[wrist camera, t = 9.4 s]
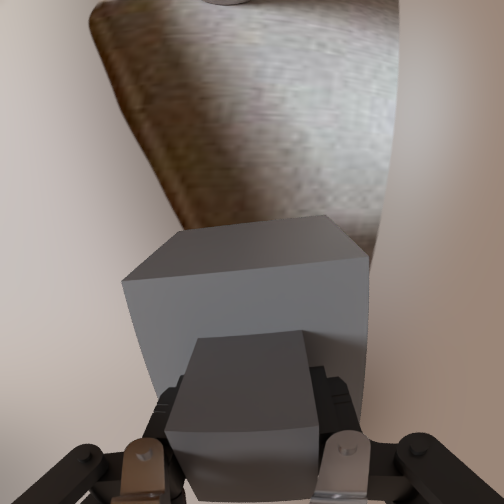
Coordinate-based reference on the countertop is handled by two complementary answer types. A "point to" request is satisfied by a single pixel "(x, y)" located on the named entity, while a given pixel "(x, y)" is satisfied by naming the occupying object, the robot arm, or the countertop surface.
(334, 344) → the stepped gray cube pair
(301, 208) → the countertop surface
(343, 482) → the robot arm
